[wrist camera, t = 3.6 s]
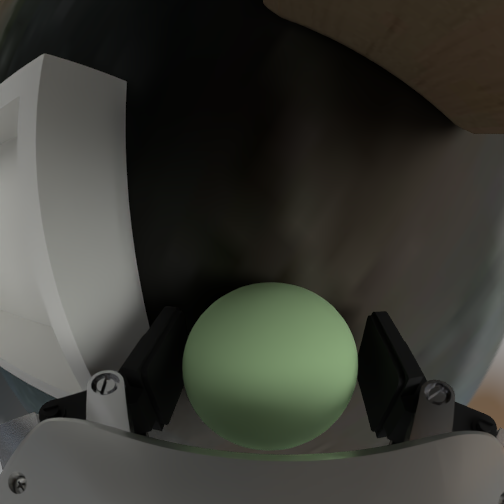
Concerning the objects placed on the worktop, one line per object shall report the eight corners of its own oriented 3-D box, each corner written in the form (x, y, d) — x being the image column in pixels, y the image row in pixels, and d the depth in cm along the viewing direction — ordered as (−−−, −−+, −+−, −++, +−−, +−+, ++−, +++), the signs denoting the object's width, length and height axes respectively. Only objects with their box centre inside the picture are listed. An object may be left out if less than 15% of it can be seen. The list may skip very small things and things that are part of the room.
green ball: (199, 254, 11) (130, 348, 5) (349, 257, 10) (409, 357, 5) (211, 365, 13) (180, 465, 7) (329, 369, 12) (346, 472, 7)
